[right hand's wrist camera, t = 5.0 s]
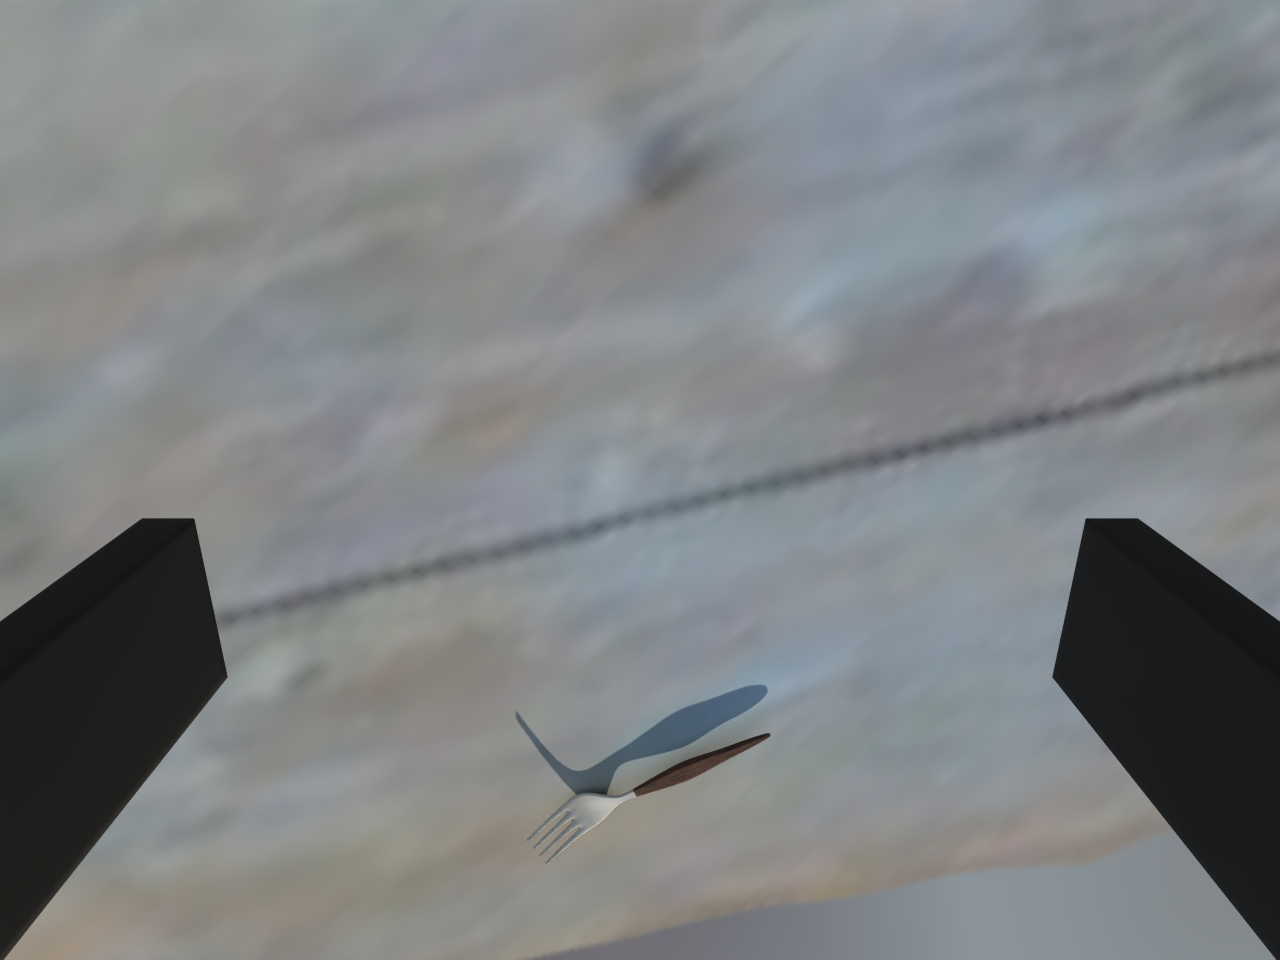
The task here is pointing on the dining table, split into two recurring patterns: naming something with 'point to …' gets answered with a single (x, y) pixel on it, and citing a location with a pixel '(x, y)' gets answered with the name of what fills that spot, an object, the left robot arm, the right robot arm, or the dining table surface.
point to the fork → (633, 793)
